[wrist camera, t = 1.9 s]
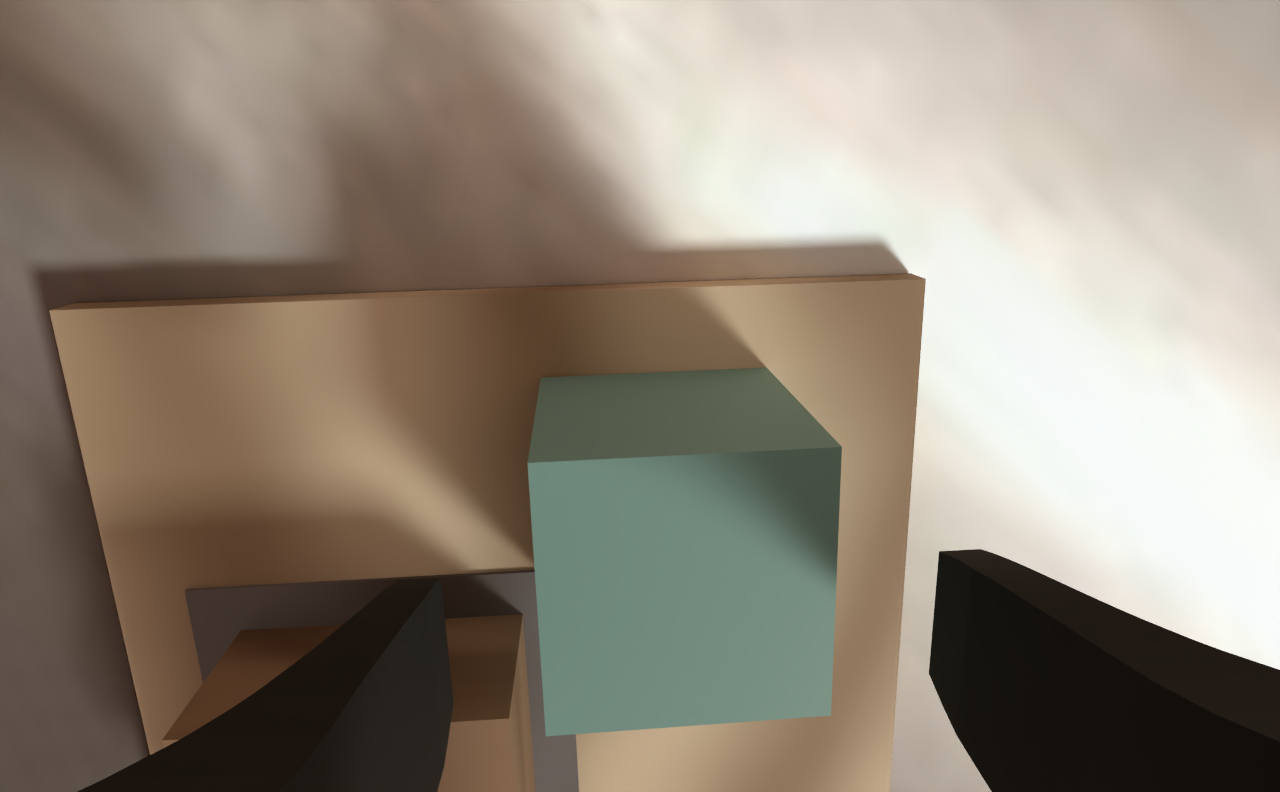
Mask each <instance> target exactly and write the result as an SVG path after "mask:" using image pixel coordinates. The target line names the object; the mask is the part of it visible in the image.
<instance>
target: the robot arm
mask: <svg viewBox="0 0 1280 792" xmlns="http://www.w3.org/2000/svg"><path fill="white" fill-rule="evenodd" d="M929 675H930V677H931V679H932V682H933V684H934V686H935V688H936V691H937V693H938V695H939V698H940V700H941V702H942V705H943V707H944V709H945V711H946V713H947V716H948V718H949V720H950V722H951V724H952V726H953V728H954V730H955V733H956V735H957V736H958V738H959V740H960V741H961V743H962V744H963V746H964V748H965V749H966V751H967V753H968V754H969V756H970V757H971V759H972V761H973V762H974V764H975V766H976V767H977V769H978V770H979V772H980V774H981V775H982V777H983V778H984V780H985V782H986V783H987V785H988V786H989V788H990V789H991V791H992V792H1280V670H1278V669H1275V668H1272V667H1269V666H1266V665H1263V664H1260V663H1257V662H1254V661H1251V660H1248V659H1245V658H1242V657H1239V656H1236V655H1233V654H1230V653H1227V652H1224V651H1221V650H1219V649H1216V648H1213V647H1211V646H1208V645H1205V644H1203V643H1200V642H1197V641H1195V640H1192V639H1189V638H1187V637H1184V636H1182V635H1180V634H1177V633H1175V632H1172V631H1170V630H1167V629H1165V628H1162V627H1160V626H1157V625H1155V624H1152V623H1150V622H1147V621H1145V620H1143V619H1140V618H1138V617H1136V616H1133V615H1131V614H1129V613H1126V612H1124V611H1122V610H1120V609H1117V608H1115V607H1113V606H1111V605H1108V604H1106V603H1104V602H1102V601H1099V600H1097V599H1095V598H1093V597H1091V596H1088V595H1086V594H1084V593H1082V592H1080V591H1077V590H1075V589H1073V588H1071V587H1069V586H1067V585H1064V584H1062V583H1060V582H1058V581H1056V580H1054V579H1051V578H1049V577H1047V576H1045V575H1043V574H1041V573H1038V572H1036V571H1034V570H1032V569H1030V568H1027V567H1025V566H1023V565H1020V564H1018V563H1016V562H1014V561H1011V560H1009V559H1006V558H1004V557H1001V556H999V555H996V554H993V553H990V552H987V551H984V550H981V549H977V550H959V551H940V552H939V561H938V573H937V585H936V597H935V608H934V620H933V632H932V644H931V656H930V668H929ZM453 703H454V701H453V692H452V682H451V672H450V663H449V653H448V644H447V634H446V624H445V615H444V605H443V596H442V586H441V578H428V579H409V580H397V581H395V582H394V583H393V584H391V585H390V586H388V587H387V588H386V589H385V590H383V591H382V592H381V593H380V594H379V595H377V596H376V597H375V598H374V599H373V600H371V601H370V602H369V603H368V604H367V605H366V606H364V607H363V608H362V609H361V610H360V611H359V612H357V613H356V614H355V615H354V616H353V617H352V618H350V619H349V620H348V621H347V622H346V623H344V624H343V625H342V626H341V627H339V628H338V629H337V630H336V631H335V632H333V633H332V634H331V635H330V636H329V637H327V638H326V639H325V640H324V641H323V642H321V643H320V644H319V645H318V646H316V647H315V648H314V649H313V650H311V651H310V652H309V653H307V654H306V655H305V656H303V657H302V658H301V659H299V660H298V661H297V662H295V663H294V664H293V665H291V666H290V667H289V668H287V669H286V670H285V671H283V672H282V673H281V674H279V675H278V676H277V677H275V678H274V679H273V680H271V681H270V682H269V683H267V684H266V685H265V686H263V687H262V688H261V689H259V690H258V691H256V692H255V693H253V694H252V695H250V696H249V697H248V698H246V699H245V700H243V701H242V702H240V703H238V704H237V705H235V706H234V707H232V708H231V709H229V710H228V711H226V712H225V713H223V714H221V715H220V716H218V717H216V718H215V719H213V720H212V721H210V722H208V723H207V724H205V725H203V726H202V727H200V728H198V729H197V730H195V731H194V732H192V733H190V734H188V735H187V736H185V737H183V738H181V739H180V740H178V741H176V742H174V743H172V744H170V745H169V746H167V747H165V748H163V749H161V750H159V751H157V752H155V753H153V754H151V755H149V756H147V757H146V758H144V759H142V760H140V761H138V762H136V763H134V764H132V765H130V766H128V767H126V768H124V769H123V770H121V771H119V772H117V773H115V774H113V775H111V776H109V777H107V778H105V779H103V780H101V781H99V782H97V783H95V784H93V785H91V786H89V787H86V788H84V789H82V790H80V791H78V792H437V791H438V787H439V784H440V780H441V776H442V773H443V769H444V764H445V758H446V751H447V745H448V739H449V732H450V724H451V717H452V710H453Z"/></svg>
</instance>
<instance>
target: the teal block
mask: <svg viewBox="0 0 1280 792" xmlns="http://www.w3.org/2000/svg"><path fill="white" fill-rule="evenodd" d="M841 459H842V446H841V445H840V444H839V443H838V442H837V441H836V440H835V439H834V438H833V437H832V436H831V435H830V434H829V433H828V432H827V431H826V430H825V429H824V427H823V426H822V425H821V424H820V423H819V422H818V421H817V420H816V419H815V418H814V417H813V416H812V415H811V414H810V413H809V412H808V411H807V410H806V408H805V407H804V406H803V405H802V404H801V403H800V402H799V401H798V400H797V399H796V398H795V397H794V396H793V395H792V394H791V393H790V392H789V391H788V389H787V388H786V387H785V386H784V385H783V384H782V383H781V382H780V381H779V380H778V379H777V378H776V377H775V376H774V375H773V374H772V373H771V372H770V371H769V369H768V368H767V367H766V368H743V369H721V370H698V371H676V372H653V373H630V374H608V375H585V376H562V377H541V380H540V386H539V393H538V399H537V405H536V412H535V418H534V425H533V431H532V438H531V444H530V450H529V457H528V477H529V492H530V507H531V522H532V537H533V552H534V567H535V582H536V597H537V612H538V627H539V642H540V657H541V672H542V687H543V702H544V717H545V732H546V736H558V735H572V734H586V733H599V732H613V731H627V730H641V729H655V728H668V727H682V726H696V725H710V724H724V723H737V722H751V721H765V720H779V719H792V718H806V717H820V716H831V703H832V679H833V655H834V630H835V606H836V581H837V557H838V533H839V508H840V484H841Z"/></svg>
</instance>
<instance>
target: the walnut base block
mask: <svg viewBox="0 0 1280 792" xmlns="http://www.w3.org/2000/svg"><path fill="white" fill-rule="evenodd" d="M445 624H446V634H447V644H448V653H449V663H450V672H451V682H452V692H453V701H454V703H453V710H452V717H451V724H450V732H449V739H448V745H447V751H446V758H445V764H444V769H443V773H442V776H441V780H440V784H439V787H438V791H437V792H536V787H535V773H534V759H533V746H532V732H531V718H530V705H529V691H528V678H527V664H526V650H525V637H524V623H523V614H519V615H501V616H483V617H466V618H448V619H445ZM341 626H342V625H325V626H307V627H290V628H272V629H255V630H241V631H240V632H239V634H238V635H237V636H236V638H235V639H234V641H233V642H232V643H231V645H230V646H229V648H228V649H227V650H226V652H225V653H224V654H223V656H222V657H221V659H220V660H219V661H218V663H217V664H216V666H215V667H214V668H213V670H212V671H211V673H210V674H209V675H208V677H207V678H206V679H205V681H204V682H203V684H202V685H201V686H200V688H199V689H198V691H197V692H196V693H195V695H194V696H193V698H192V699H191V700H190V702H189V703H188V705H187V706H186V707H185V709H184V710H183V711H182V713H181V714H180V716H179V717H178V718H177V720H176V721H175V723H174V724H173V725H172V727H171V728H170V730H169V731H168V732H167V734H166V735H165V736H164V738H163V739H162V745H163V748H165V747H167V746H169V745H170V744H172V743H174V742H176V741H178V740H180V739H181V738H183V737H185V736H187V735H188V734H190V733H192V732H194V731H195V730H197V729H198V728H200V727H202V726H203V725H205V724H207V723H208V722H210V721H212V720H213V719H215V718H216V717H218V716H220V715H221V714H223V713H225V712H226V711H228V710H229V709H231V708H232V707H234V706H235V705H237V704H238V703H240V702H242V701H243V700H245V699H246V698H248V697H249V696H250V695H252V694H253V693H255V692H256V691H258V690H259V689H261V688H262V687H263V686H265V685H266V684H267V683H269V682H270V681H271V680H273V679H274V678H275V677H277V676H278V675H279V674H281V673H282V672H283V671H285V670H286V669H287V668H289V667H290V666H291V665H293V664H294V663H295V662H297V661H298V660H299V659H301V658H302V657H303V656H305V655H306V654H307V653H309V652H310V651H311V650H313V649H314V648H315V647H316V646H318V645H319V644H320V643H321V642H323V641H324V640H325V639H326V638H327V637H329V636H330V635H331V634H332V633H333V632H335V631H336V630H337V629H338V628H339V627H341Z"/></svg>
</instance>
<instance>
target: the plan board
mask: <svg viewBox="0 0 1280 792" xmlns="http://www.w3.org/2000/svg"><path fill="white" fill-rule="evenodd" d="M924 293H925V279H924V278H921V277H919V276H916V275H913V274H884V275H856V276H827V277H799V278H771V279H743V280H714V281H686V282H658V283H630V284H601V285H573V286H545V287H516V288H488V289H460V290H432V291H403V292H375V293H347V294H319V295H290V296H262V297H234V298H206V299H177V300H149V301H121V302H93V303H73V304H69V305H66V306H63V307H59V308H56V309H52V310H49V311H50V316H51V320H52V325H53V329H54V333H55V338H56V342H57V347H58V351H59V356H60V360H61V364H62V369H63V373H64V378H65V382H66V386H67V391H68V395H69V400H70V404H71V408H72V413H73V417H74V422H75V426H76V430H77V435H78V439H79V444H80V448H81V452H82V457H83V461H84V466H85V470H86V474H87V479H88V483H89V488H90V492H91V497H92V501H93V505H94V510H95V514H96V519H97V523H98V527H99V532H100V536H101V541H102V545H103V549H104V554H105V558H106V563H107V567H108V571H109V576H110V580H111V585H112V589H113V593H114V598H115V602H116V607H117V611H118V615H119V620H120V624H121V629H122V633H123V637H124V642H125V646H126V651H127V655H128V660H129V664H130V668H131V673H132V677H133V682H134V686H135V690H136V695H137V699H138V704H139V708H140V712H141V717H142V721H143V726H144V730H145V734H146V739H147V743H148V748H149V752H150V755H151V754H153V753H155V752H157V751H159V750H161V749H163V745H162V739H163V738H164V736H165V735H166V734H167V732H168V731H169V730H170V728H171V727H172V725H173V724H174V723H175V721H176V720H177V718H178V717H179V716H180V714H181V713H182V711H183V710H184V709H185V707H186V706H187V705H188V703H189V702H190V700H191V699H192V698H193V696H194V695H195V693H196V692H197V691H198V689H199V688H200V686H201V685H202V684H203V682H204V681H205V679H206V678H207V677H208V675H209V674H210V673H211V671H212V670H213V668H214V667H215V666H216V664H217V663H218V661H219V660H220V659H221V657H222V656H223V654H224V653H225V652H226V650H227V649H228V648H229V646H230V645H231V643H232V642H233V641H234V639H235V638H236V636H237V635H238V634H239V632H240V631H241V630H255V629H272V628H290V627H307V626H325V625H343V624H344V623H346V622H347V621H348V620H349V619H350V618H352V617H353V616H354V615H355V614H356V613H357V612H359V611H360V610H361V609H362V608H363V607H364V606H366V605H367V604H368V603H369V602H370V601H371V600H373V599H374V598H375V597H376V596H377V595H379V594H380V593H381V592H382V591H383V590H385V589H386V588H387V587H388V586H390V585H391V584H393V583H394V582H395V581H397V580H409V579H428V578H441V586H442V596H443V605H444V615H445V619H448V618H466V617H483V616H501V615H519V614H523V623H524V637H525V650H526V664H527V678H528V691H529V705H530V718H531V732H532V746H533V759H534V773H535V787H536V792H889V790H890V776H891V762H892V747H893V733H894V719H895V705H896V691H897V676H898V662H899V648H900V634H901V620H902V605H903V591H904V577H905V563H906V549H907V534H908V520H909V506H910V492H911V478H912V463H913V449H914V435H915V421H916V407H917V392H918V378H919V364H920V350H921V336H922V321H923V307H924ZM766 367H767V368H768V369H769V371H770V372H771V373H772V374H773V375H774V376H775V377H776V378H777V379H778V380H779V381H780V382H781V383H782V384H783V385H784V386H785V387H786V388H787V389H788V391H789V392H790V393H791V394H792V395H793V396H794V397H795V398H796V399H797V400H798V401H799V402H800V403H801V404H802V405H803V406H804V407H805V408H806V410H807V411H808V412H809V413H810V414H811V415H812V416H813V417H814V418H815V419H816V420H817V421H818V422H819V423H820V424H821V425H822V426H823V427H824V429H825V430H826V431H827V432H828V433H829V434H830V435H831V436H832V437H833V438H834V439H835V440H836V441H837V442H838V443H839V444H840V445H841V446H842V459H841V484H840V508H839V533H838V557H837V581H836V606H835V630H834V655H833V679H832V703H831V716H820V717H806V718H792V719H779V720H765V721H751V722H737V723H724V724H710V725H696V726H682V727H668V728H655V729H641V730H627V731H613V732H599V733H586V734H572V735H558V736H546V732H545V717H544V702H543V687H542V672H541V657H540V642H539V627H538V612H537V597H536V582H535V567H534V552H533V537H532V522H531V507H530V492H529V477H528V457H529V450H530V444H531V438H532V431H533V425H534V418H535V412H536V405H537V399H538V393H539V386H540V380H541V377H562V376H585V375H608V374H630V373H653V372H676V371H698V370H721V369H743V368H766Z"/></svg>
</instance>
